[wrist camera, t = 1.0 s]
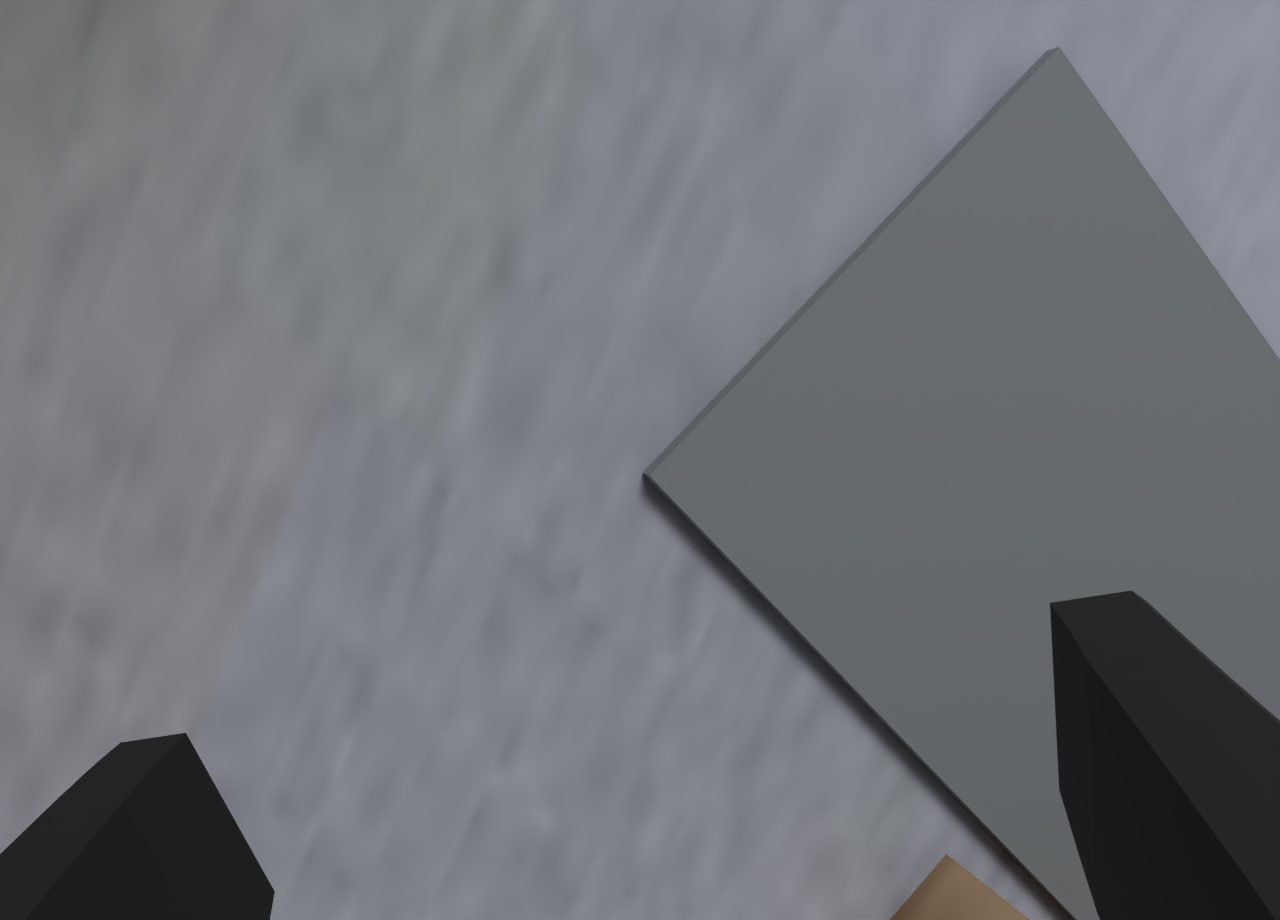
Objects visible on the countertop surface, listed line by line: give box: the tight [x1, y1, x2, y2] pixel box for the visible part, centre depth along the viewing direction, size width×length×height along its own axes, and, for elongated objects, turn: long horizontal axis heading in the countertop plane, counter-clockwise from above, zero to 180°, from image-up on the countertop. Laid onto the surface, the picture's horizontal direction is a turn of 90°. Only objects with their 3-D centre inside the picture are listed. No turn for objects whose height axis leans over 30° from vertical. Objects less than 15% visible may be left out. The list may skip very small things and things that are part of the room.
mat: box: [643, 47, 1280, 920], centre depth 26 cm, size 12×18×1 cm, turn 44°
